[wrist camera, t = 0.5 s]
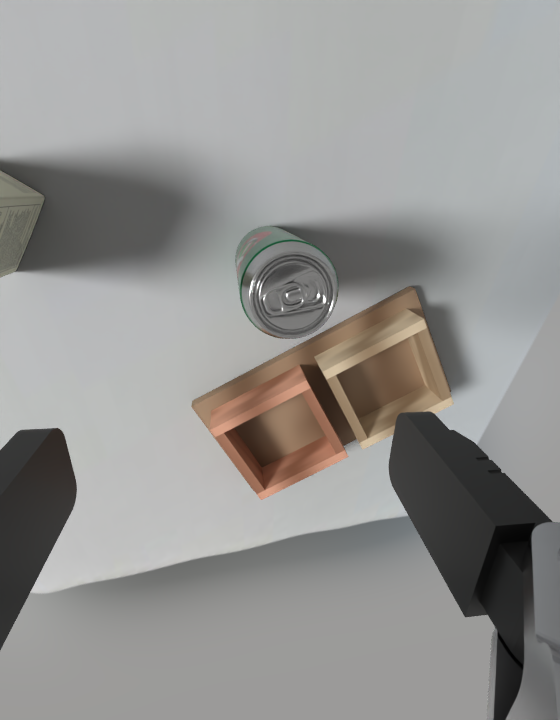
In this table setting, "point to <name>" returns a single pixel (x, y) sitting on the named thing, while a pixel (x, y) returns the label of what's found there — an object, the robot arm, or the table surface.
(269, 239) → the soda can
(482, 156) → the table surface
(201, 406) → the can rack
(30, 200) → the skincare box
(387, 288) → the table surface
